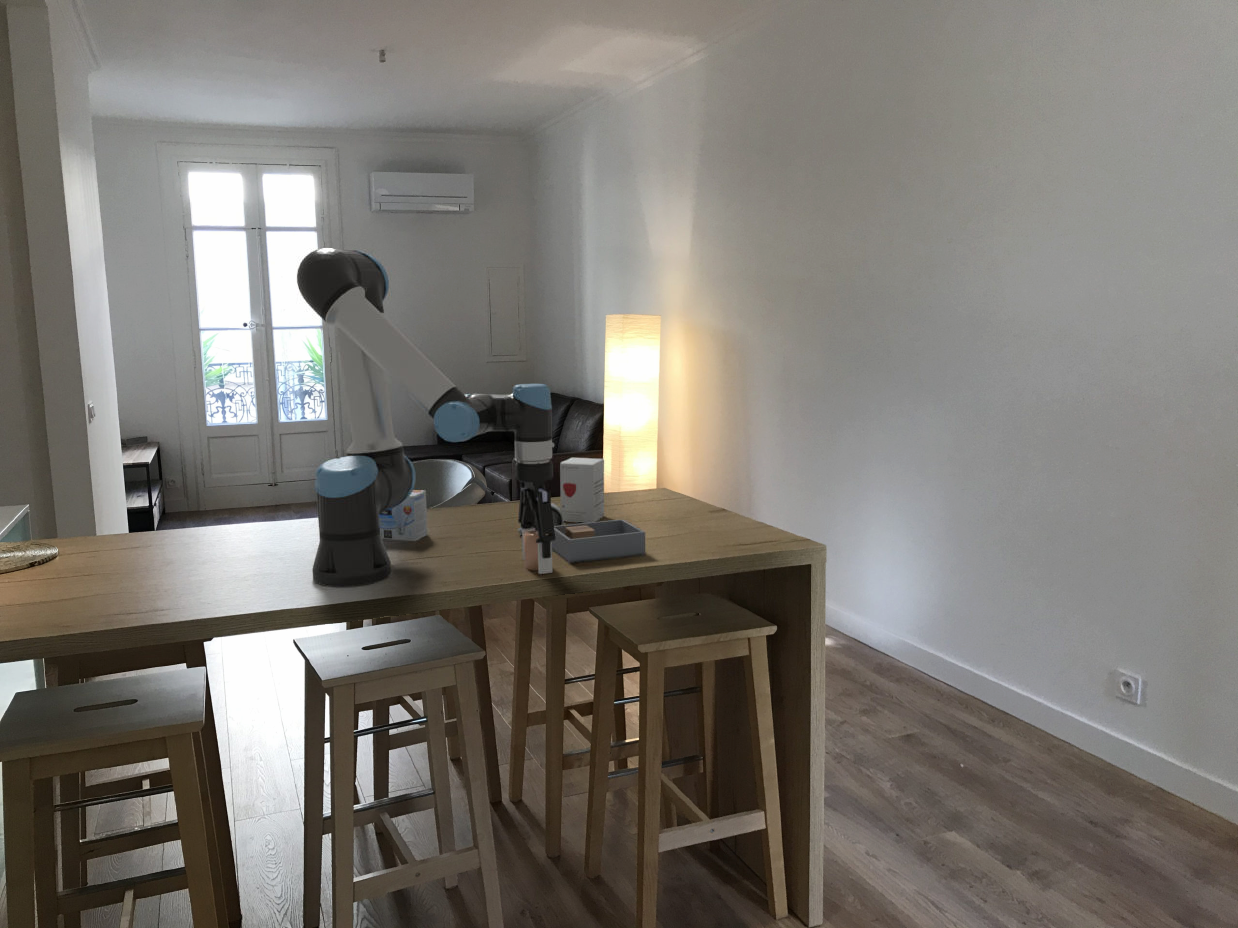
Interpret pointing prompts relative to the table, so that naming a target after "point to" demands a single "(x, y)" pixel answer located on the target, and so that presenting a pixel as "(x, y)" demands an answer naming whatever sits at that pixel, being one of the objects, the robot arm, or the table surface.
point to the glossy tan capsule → (531, 550)
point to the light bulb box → (405, 519)
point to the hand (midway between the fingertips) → (537, 565)
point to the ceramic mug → (556, 517)
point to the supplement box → (582, 489)
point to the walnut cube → (579, 532)
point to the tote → (600, 542)
